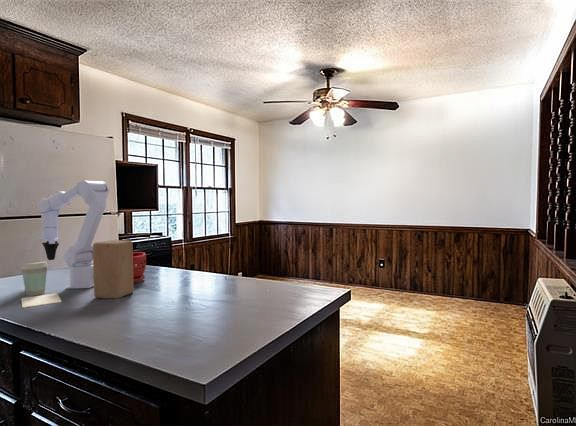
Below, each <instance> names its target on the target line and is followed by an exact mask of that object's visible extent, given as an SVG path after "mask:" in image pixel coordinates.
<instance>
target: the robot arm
mask: <svg viewBox="0 0 576 426" xmlns="http://www.w3.org/2000/svg"><path fill="white" fill-rule="evenodd" d="M109 189H110V188H109V187H108V184H107V183H106V182H105V181H103V180H99V181H95V180H87V179H85V180H80V181H78V182H76V184H75V185H74V186H73V187H71V188H69V189H68V190H67V191H65V190H64V191H63V190H57V191H56V193H55V194H52V195H49V197H47V198H45V197H43V198H40V199H39V200H38V201H37V209H38V211H39V212H40V213H41V214H40V215H41V237H39V238H38V240H39V241H44V242H42V243H41V244H42V246H43V247H44V251H45V255H46V259H48V261H54V260H55V259H56V253H57V249H58V247H59V245H60V242H58V241H57V240H59V222H58V221H59V220H58V219H59V218H58V217H59V215H60V210H61V209H62V208H63V207H65V206H66V205H68V204H70V203H71V201H72V199H75V198H77V197H79V196H80V197H81V198H82V200H83V201H84V203H85V204H86V205H88V209H87V212H86V214H85V217H84V221H83V222H82V225H81V228H80V231H79V233H78V236H77V238H76V241H75V242H73V243H71V244H70V246H69V247H68V249H67V250H66V251H65V252H64V256H63V259H64V262H65V264H66V265H67V266H68V267H69V285H68V286H65V289H66V290H67V289H68V290H69V289H90V288H92V287H93V288H94V267H93V264H92V262H93V241H94V239H95V236H96V233H97V231H98V227H99V225H100V223H101V220H102V217H103V215H104V213H105V210H106V207H107V199H108V195H109V194H110V190H109ZM45 241H46V242H45Z"/></svg>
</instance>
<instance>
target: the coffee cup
mask: <svg viewBox="0 0 576 426" xmlns="http://www.w3.org/2000/svg"><path fill="white" fill-rule="evenodd" d="M48 267H49V264H48V263H47V261H46V260H33V261H32V260H31V261H25V262H22V263H21V266H20V270H21V272H22V278H23V285H24V290H25V296H27V297H34V296H41V295H45V293H46V286H47V285H46V284H47V275H48V274H47V273H48Z"/></svg>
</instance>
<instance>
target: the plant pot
mask: <svg viewBox="0 0 576 426" xmlns="http://www.w3.org/2000/svg"><path fill="white" fill-rule="evenodd" d="M146 266H147V254H146V252H144V251H143V252H142V251H133V284H135V283H140V282H141V281H144V279H145V277H146V275H145V274H144V273H145V270H146V268H147V267H146Z"/></svg>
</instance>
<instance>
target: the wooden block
mask: <svg viewBox="0 0 576 426" xmlns="http://www.w3.org/2000/svg"><path fill="white" fill-rule="evenodd" d="M92 245H93V260H92V262H93V263H92V265H93V267H94V286H93V293H94V294H93V296H94V297H95V298H98V299H112V298H113V300H114V299H116V300H117V299H119V298H122V297H125V296H127V295H130V294H132V293H134V290H135V289H134V288H135V287H134V283H133V252H134V251H133V250H134V248H133V241H131V240H121V239H119V240H118V239H117V240H116V239H115V240H113V239H110V240H104V241H97V242H95V243H92Z"/></svg>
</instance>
